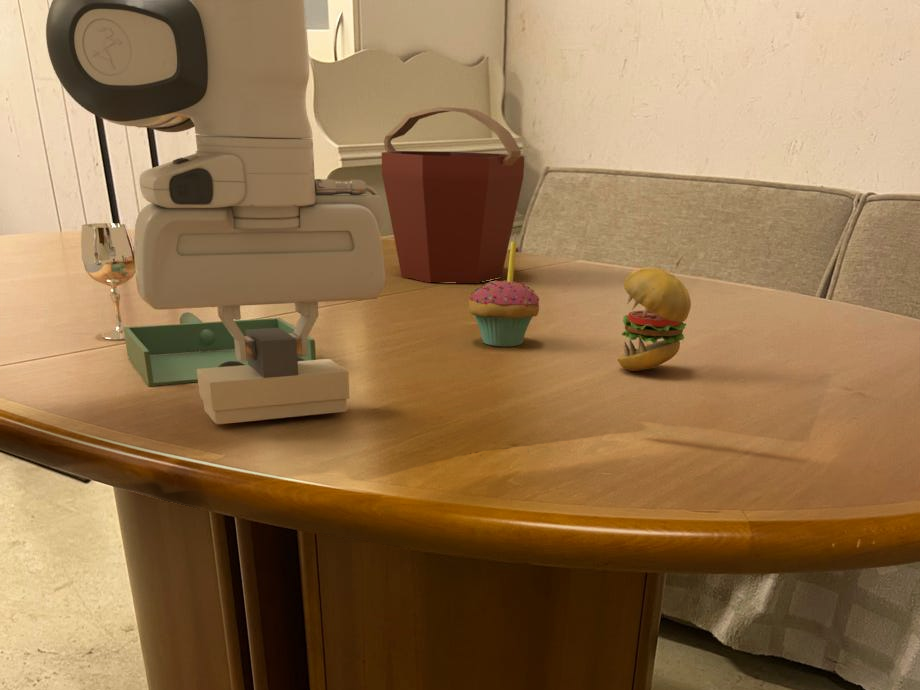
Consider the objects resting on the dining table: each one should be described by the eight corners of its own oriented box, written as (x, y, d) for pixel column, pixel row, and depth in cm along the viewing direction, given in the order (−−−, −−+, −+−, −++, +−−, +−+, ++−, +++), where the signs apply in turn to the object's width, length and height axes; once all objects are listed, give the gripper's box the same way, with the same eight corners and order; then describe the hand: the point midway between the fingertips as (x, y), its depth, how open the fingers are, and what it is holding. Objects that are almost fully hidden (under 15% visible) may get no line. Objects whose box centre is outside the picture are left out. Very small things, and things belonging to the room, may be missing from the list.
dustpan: (316, 371, 97) (314, 339, 95) (148, 386, 90) (143, 351, 88) (258, 330, 114) (256, 302, 113) (114, 340, 107) (109, 310, 106)
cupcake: (487, 333, 117) (490, 229, 111) (549, 341, 114) (555, 235, 108) (455, 345, 110) (457, 236, 104) (520, 354, 107) (526, 242, 101)
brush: (350, 412, 82) (347, 335, 79) (214, 425, 77) (205, 344, 74) (331, 398, 86) (328, 324, 83) (201, 410, 81) (192, 332, 78)
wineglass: (85, 336, 109) (65, 224, 103) (126, 329, 113) (110, 221, 107) (116, 343, 106) (97, 229, 100) (157, 335, 110) (142, 225, 104)
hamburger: (625, 360, 106) (637, 247, 100) (687, 368, 103) (703, 252, 97) (606, 374, 99) (618, 255, 94) (673, 383, 97) (689, 260, 91)
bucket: (357, 271, 159) (351, 104, 147) (453, 262, 173) (455, 108, 160) (451, 291, 144) (453, 106, 132) (549, 280, 157) (559, 110, 145)
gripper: (367, 177, 79) (371, 342, 86) (117, 175, 71) (143, 358, 78) (396, 182, 74) (397, 357, 81) (130, 180, 66) (157, 375, 73)
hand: (271, 358), depth 79 cm, fingers closed on brush, 3 cm apart
